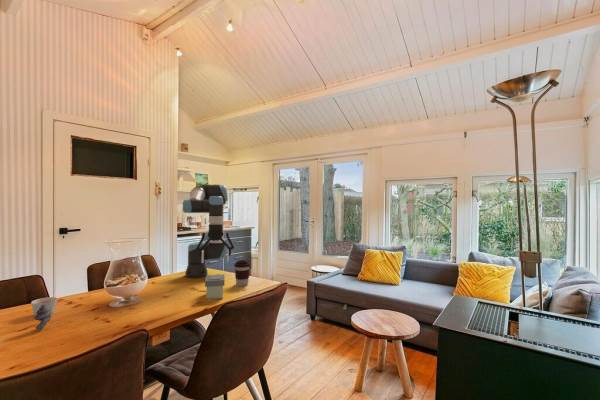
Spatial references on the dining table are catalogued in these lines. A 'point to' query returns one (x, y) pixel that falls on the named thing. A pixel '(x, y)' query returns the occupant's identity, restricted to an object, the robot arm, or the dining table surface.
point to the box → (214, 292)
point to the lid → (214, 280)
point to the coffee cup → (242, 272)
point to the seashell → (43, 316)
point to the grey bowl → (47, 301)
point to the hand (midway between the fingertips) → (215, 262)
